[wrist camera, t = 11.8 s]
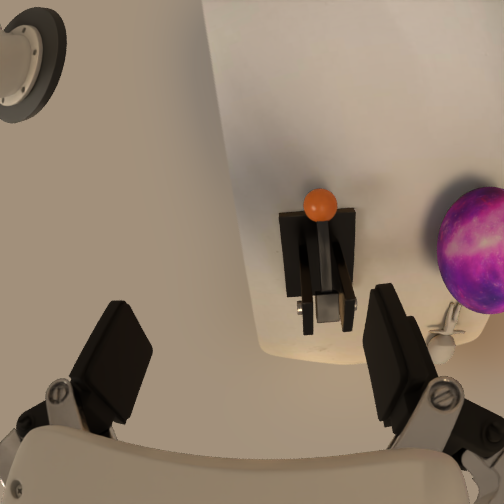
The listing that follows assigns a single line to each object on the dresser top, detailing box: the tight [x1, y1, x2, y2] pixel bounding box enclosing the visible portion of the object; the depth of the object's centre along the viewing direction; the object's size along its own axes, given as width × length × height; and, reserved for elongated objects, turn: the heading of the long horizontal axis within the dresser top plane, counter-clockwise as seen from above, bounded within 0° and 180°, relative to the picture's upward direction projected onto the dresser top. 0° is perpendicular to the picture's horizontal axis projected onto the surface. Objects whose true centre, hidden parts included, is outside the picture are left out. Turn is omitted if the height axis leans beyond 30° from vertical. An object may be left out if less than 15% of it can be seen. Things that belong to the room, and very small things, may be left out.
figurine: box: [428, 303, 465, 364], centre depth 40 cm, size 8×5×12 cm
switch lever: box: [303, 188, 340, 323], centre depth 28 cm, size 13×3×3 cm
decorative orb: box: [437, 187, 504, 314], centre depth 25 cm, size 15×15×15 cm
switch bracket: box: [279, 208, 357, 335], centre depth 31 cm, size 12×9×12 cm
